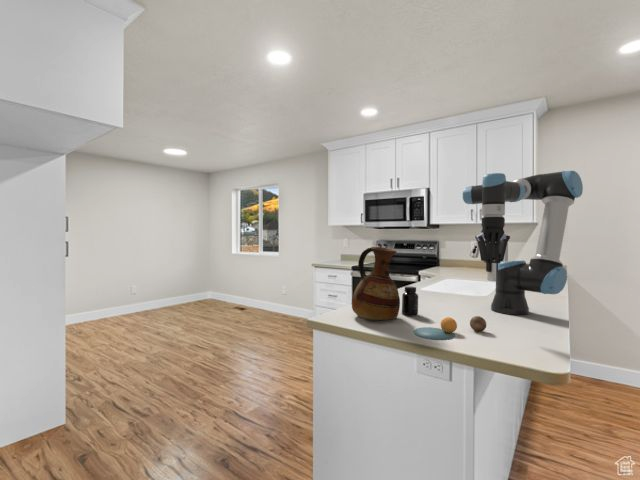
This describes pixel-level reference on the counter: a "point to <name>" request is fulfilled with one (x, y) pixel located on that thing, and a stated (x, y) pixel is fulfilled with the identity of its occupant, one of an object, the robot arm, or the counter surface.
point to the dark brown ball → (478, 323)
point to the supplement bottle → (410, 301)
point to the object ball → (448, 325)
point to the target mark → (433, 333)
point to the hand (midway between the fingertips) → (491, 280)
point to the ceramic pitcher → (376, 288)
